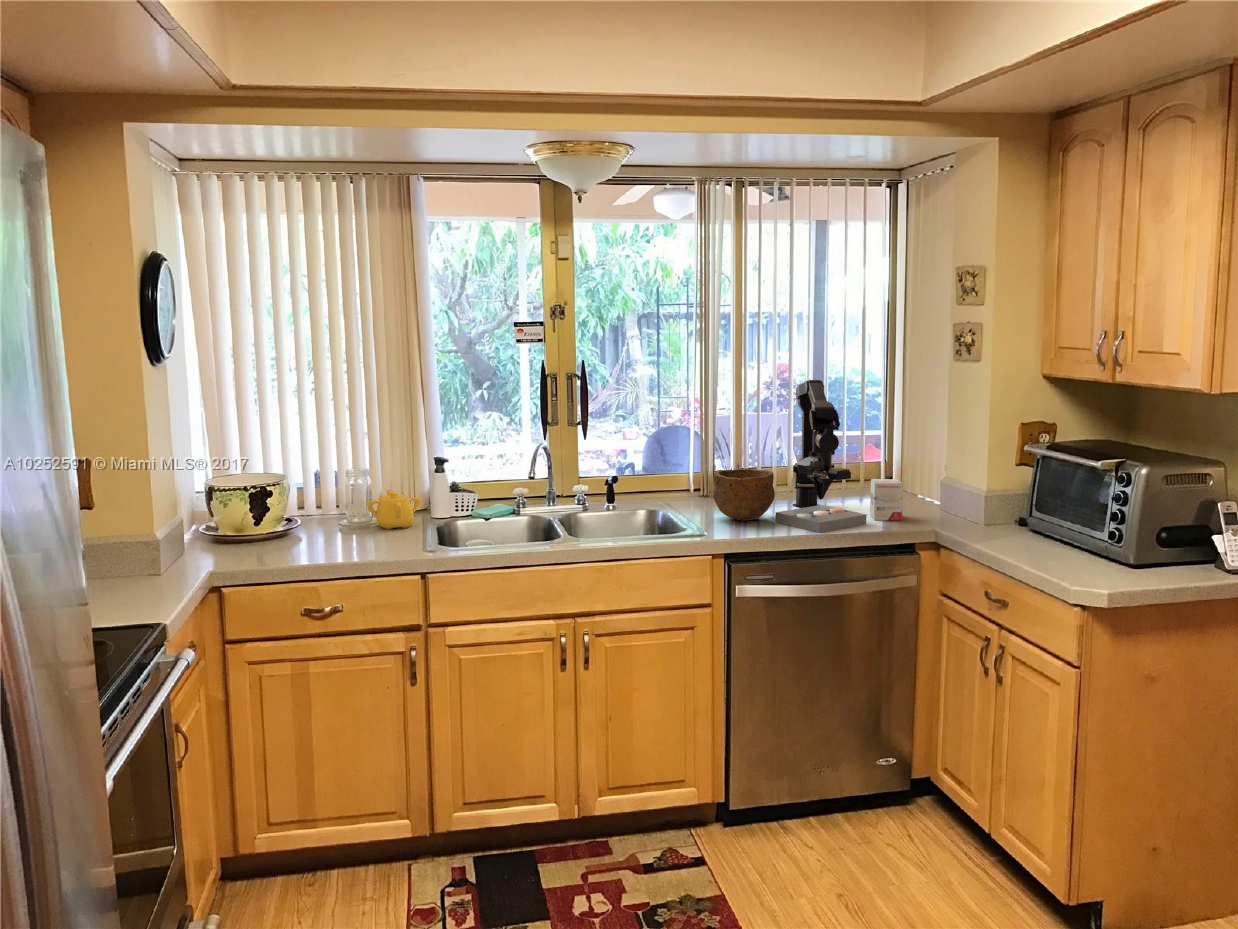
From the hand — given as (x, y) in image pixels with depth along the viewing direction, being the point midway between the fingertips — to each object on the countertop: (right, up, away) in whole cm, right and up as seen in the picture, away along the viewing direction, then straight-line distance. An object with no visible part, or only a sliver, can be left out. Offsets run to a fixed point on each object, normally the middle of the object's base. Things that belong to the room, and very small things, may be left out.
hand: (820, 499), depth 293 cm
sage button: (-6, -8, -4) cm, 10 cm away
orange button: (+6, -6, +4) cm, 10 cm away
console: (0, -7, 0) cm, 7 cm away
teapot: (-128, -8, -2) cm, 128 cm away
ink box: (+22, -6, +8) cm, 24 cm away
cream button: (0, -7, 0) cm, 7 cm away
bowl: (-23, -7, +5) cm, 24 cm away
